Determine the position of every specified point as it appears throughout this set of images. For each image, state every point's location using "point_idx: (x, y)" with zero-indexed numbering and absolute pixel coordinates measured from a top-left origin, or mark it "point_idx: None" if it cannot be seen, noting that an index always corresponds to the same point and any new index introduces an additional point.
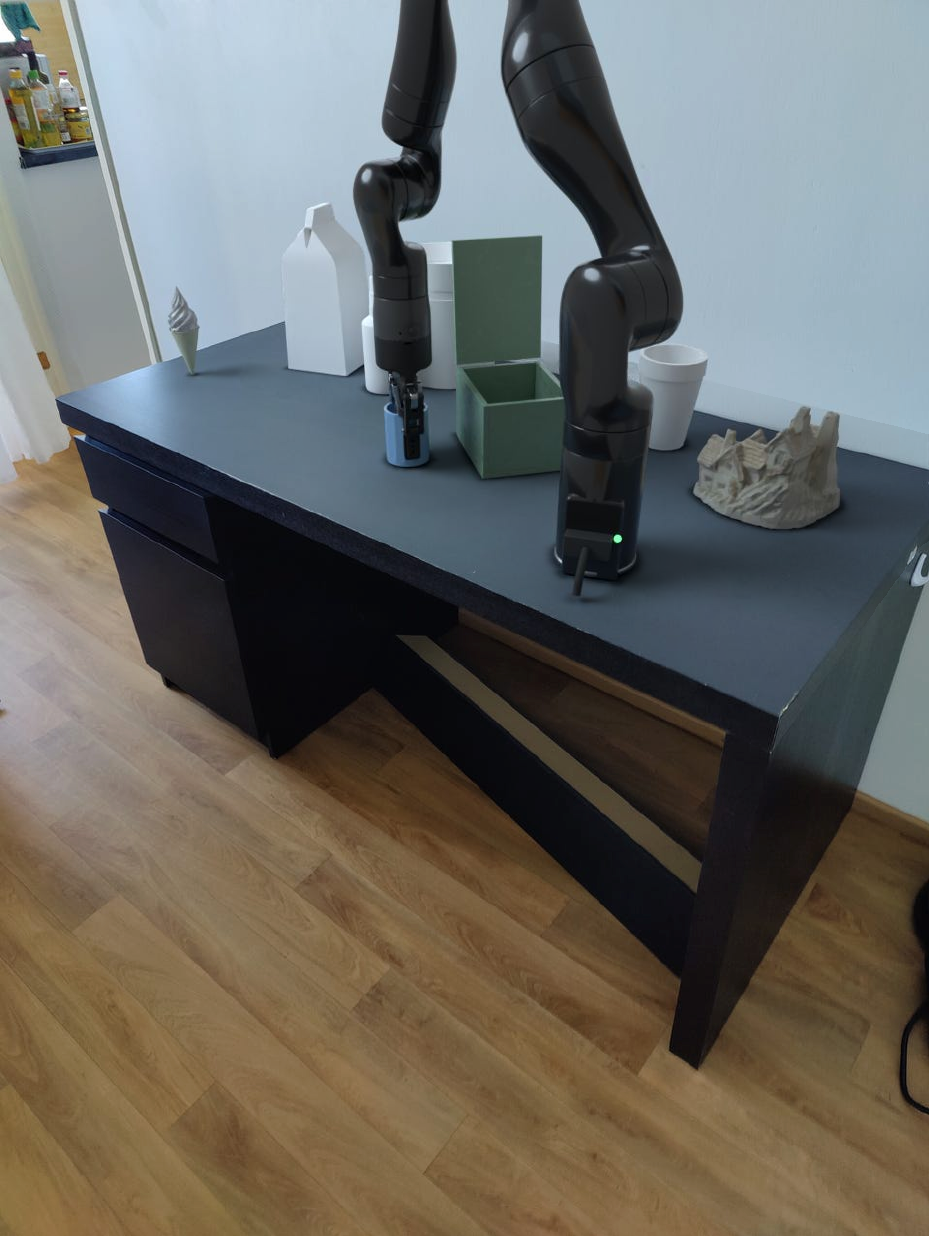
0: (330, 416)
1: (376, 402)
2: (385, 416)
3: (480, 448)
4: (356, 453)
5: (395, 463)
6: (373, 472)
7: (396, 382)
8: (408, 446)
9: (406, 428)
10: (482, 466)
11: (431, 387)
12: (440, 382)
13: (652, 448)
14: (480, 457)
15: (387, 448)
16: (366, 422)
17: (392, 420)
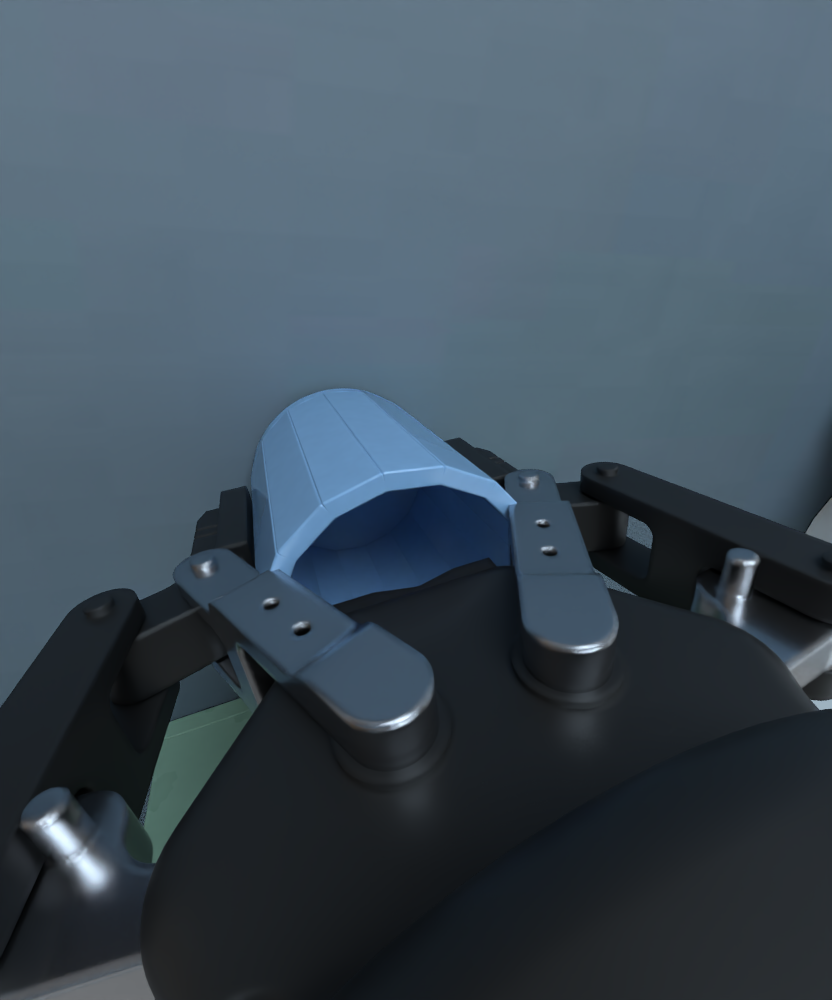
0: (804, 133)
1: (820, 343)
2: (353, 465)
3: (186, 808)
4: (424, 239)
5: (266, 430)
6: (200, 320)
7: (502, 695)
8: (195, 544)
9: (46, 648)
10: (159, 763)
11: (823, 509)
12: (825, 540)
13: None
14: (189, 772)
15: (316, 409)
16: (696, 300)
17: (284, 515)
